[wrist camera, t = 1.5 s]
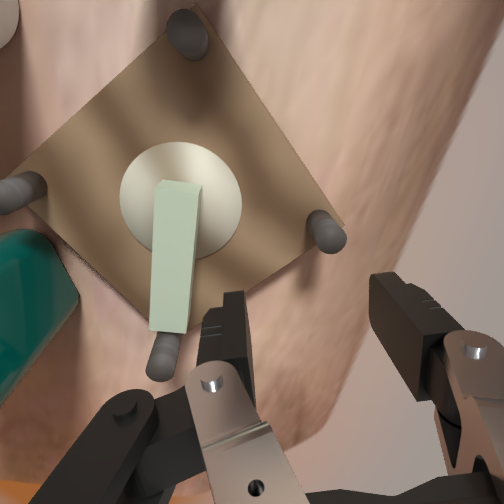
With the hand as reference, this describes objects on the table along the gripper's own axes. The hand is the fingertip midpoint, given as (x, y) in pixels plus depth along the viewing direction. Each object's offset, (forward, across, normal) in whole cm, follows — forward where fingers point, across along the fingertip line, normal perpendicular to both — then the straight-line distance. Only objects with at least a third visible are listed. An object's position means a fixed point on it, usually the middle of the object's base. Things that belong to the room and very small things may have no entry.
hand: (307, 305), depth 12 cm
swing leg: (+15, +7, +3) cm, 17 cm away
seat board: (+17, +6, 0) cm, 18 cm away
